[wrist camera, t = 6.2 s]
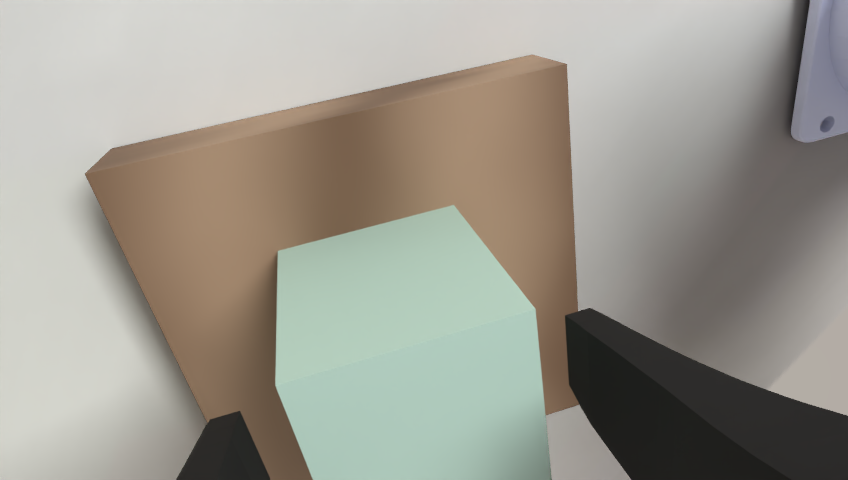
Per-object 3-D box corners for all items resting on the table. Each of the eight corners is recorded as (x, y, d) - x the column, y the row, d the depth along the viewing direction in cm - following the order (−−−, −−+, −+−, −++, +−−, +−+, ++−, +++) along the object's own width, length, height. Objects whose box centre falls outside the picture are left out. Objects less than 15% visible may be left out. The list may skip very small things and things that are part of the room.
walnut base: (532, 54, 15) (566, 64, 13) (555, 365, 20) (582, 403, 18) (111, 148, 13) (85, 174, 11) (253, 459, 18) (250, 509, 16)
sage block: (453, 204, 14) (535, 309, 9) (476, 344, 16) (551, 483, 11) (277, 251, 13) (275, 385, 9) (325, 388, 15) (342, 554, 11)
